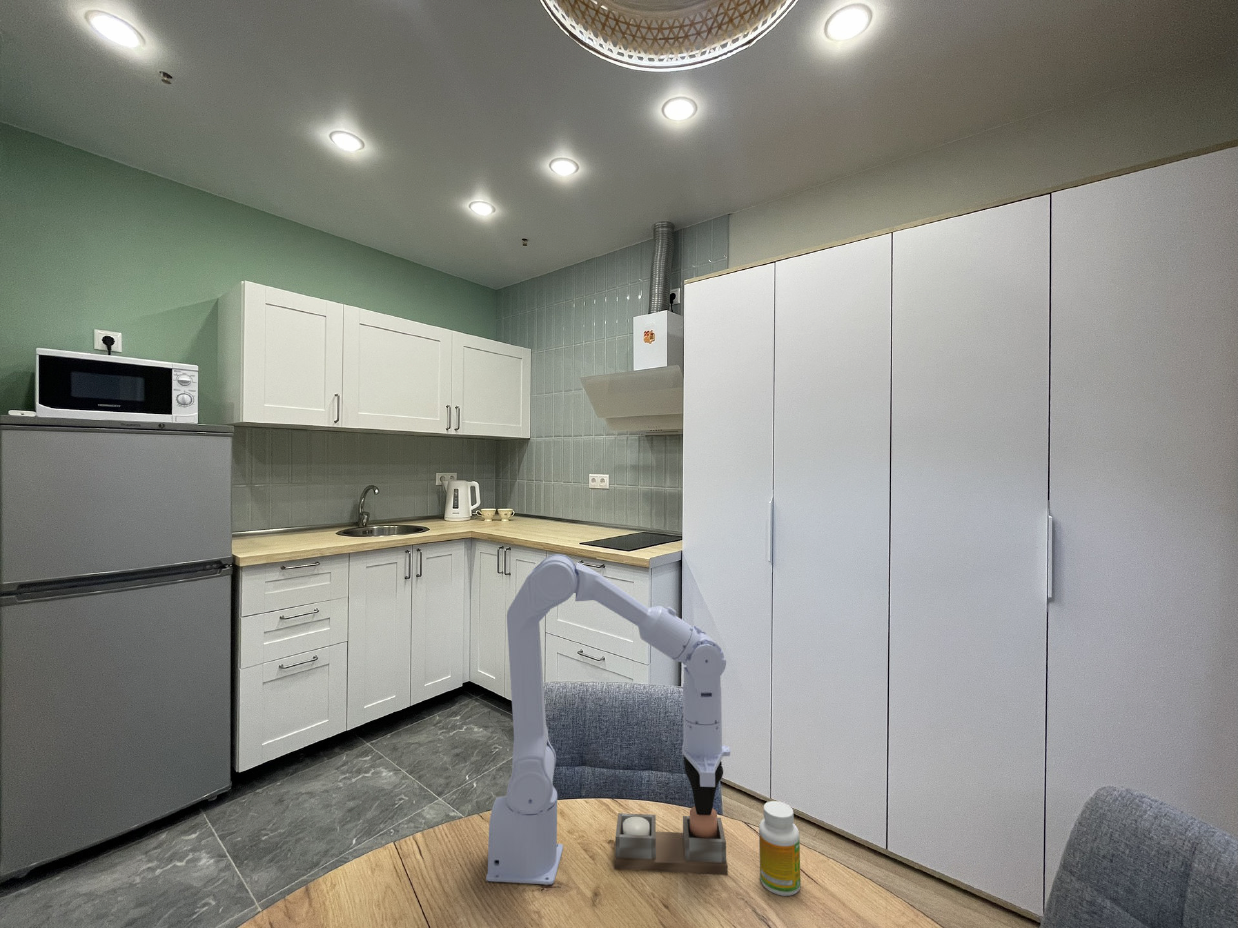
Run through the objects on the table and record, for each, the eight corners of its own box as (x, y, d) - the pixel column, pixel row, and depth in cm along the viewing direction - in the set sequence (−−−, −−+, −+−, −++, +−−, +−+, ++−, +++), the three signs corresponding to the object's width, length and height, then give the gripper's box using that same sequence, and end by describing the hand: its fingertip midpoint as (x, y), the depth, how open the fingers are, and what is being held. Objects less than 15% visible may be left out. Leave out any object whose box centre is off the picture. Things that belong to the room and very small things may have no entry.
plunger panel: (614, 869, 74) (614, 839, 74) (617, 837, 81) (617, 810, 81) (727, 874, 73) (727, 844, 73) (721, 842, 80) (721, 815, 80)
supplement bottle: (803, 900, 68) (801, 822, 69) (761, 894, 69) (759, 817, 70) (797, 872, 73) (796, 800, 74) (758, 866, 74) (757, 795, 75)
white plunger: (621, 849, 75) (622, 832, 76) (623, 832, 79) (623, 816, 80) (649, 851, 75) (649, 833, 75) (649, 833, 79) (649, 817, 79)
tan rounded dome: (690, 837, 75) (690, 820, 75) (689, 821, 79) (688, 804, 79) (718, 839, 75) (718, 821, 75) (715, 822, 79) (715, 805, 79)
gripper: (736, 739, 71) (738, 845, 69) (722, 700, 85) (724, 786, 84) (684, 738, 71) (685, 842, 70) (679, 699, 86) (680, 785, 84)
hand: (703, 812), depth 77 cm, fingers closed
